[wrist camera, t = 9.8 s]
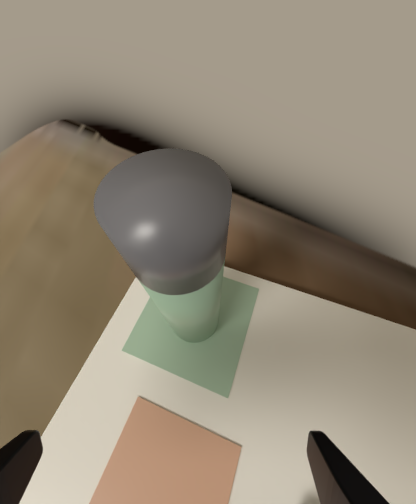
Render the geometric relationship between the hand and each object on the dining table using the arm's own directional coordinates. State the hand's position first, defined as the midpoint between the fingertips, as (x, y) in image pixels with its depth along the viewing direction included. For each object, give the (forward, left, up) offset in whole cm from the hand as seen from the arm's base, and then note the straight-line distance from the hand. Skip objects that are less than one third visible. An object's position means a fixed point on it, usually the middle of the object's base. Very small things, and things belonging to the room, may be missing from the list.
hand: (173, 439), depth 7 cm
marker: (+6, +2, -8) cm, 10 cm away
